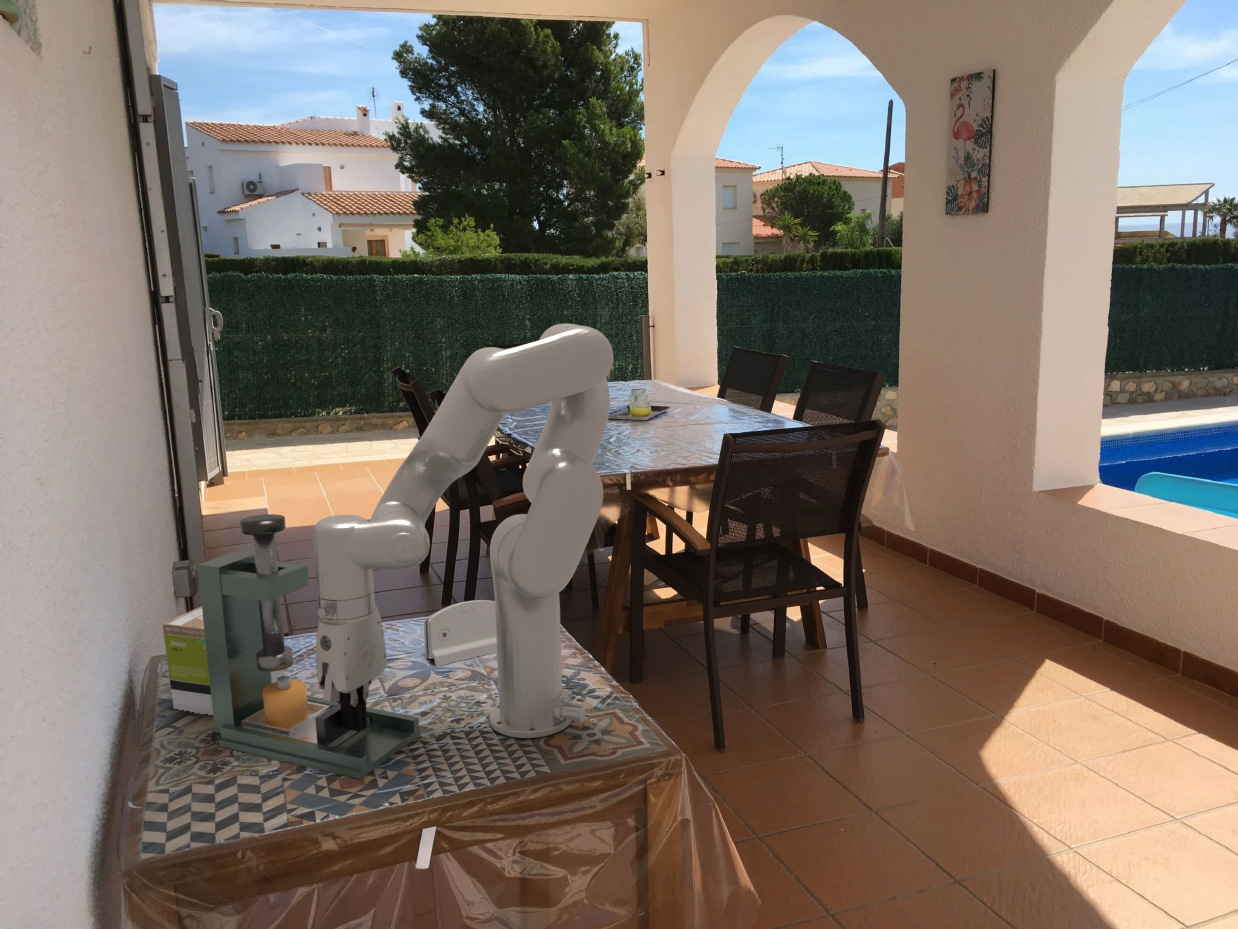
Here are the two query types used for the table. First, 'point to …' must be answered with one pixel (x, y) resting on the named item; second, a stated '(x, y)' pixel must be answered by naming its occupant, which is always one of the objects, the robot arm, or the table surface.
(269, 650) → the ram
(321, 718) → the sliding bed
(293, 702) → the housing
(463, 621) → the hinge
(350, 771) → the press
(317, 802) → the table surface
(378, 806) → the table surface
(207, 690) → the tea box
